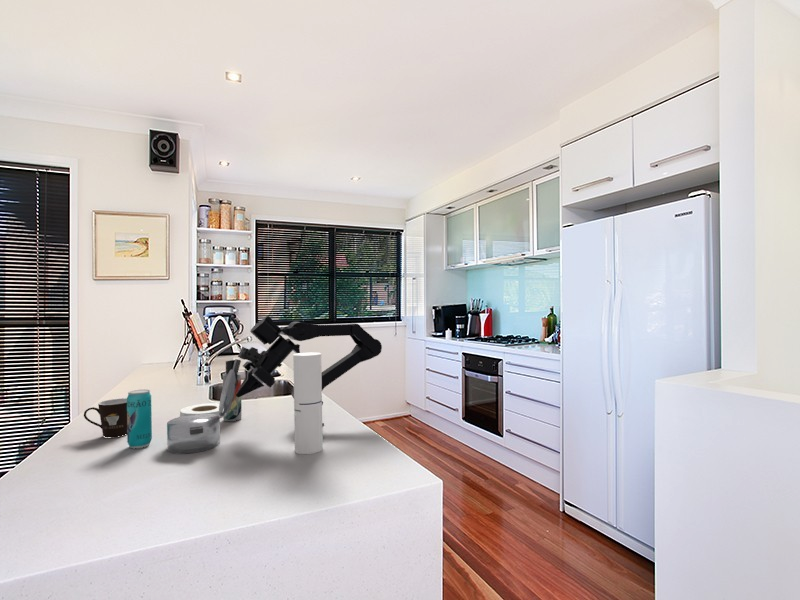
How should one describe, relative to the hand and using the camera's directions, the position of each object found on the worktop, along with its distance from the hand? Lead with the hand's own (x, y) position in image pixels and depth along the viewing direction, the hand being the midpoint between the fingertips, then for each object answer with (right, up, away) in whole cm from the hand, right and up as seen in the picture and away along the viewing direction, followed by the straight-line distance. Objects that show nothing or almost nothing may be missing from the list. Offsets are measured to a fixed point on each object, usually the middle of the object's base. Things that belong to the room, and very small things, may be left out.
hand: (236, 396), depth 124 cm
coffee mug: (-40, -13, +6) cm, 42 cm away
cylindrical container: (+23, -12, -10) cm, 28 cm away
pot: (-9, -12, -6) cm, 16 cm away
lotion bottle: (-9, -13, +21) cm, 26 cm away
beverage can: (-24, -13, -5) cm, 28 cm away
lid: (-2, +3, -1) cm, 4 cm away
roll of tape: (-22, -13, +28) cm, 38 cm away
